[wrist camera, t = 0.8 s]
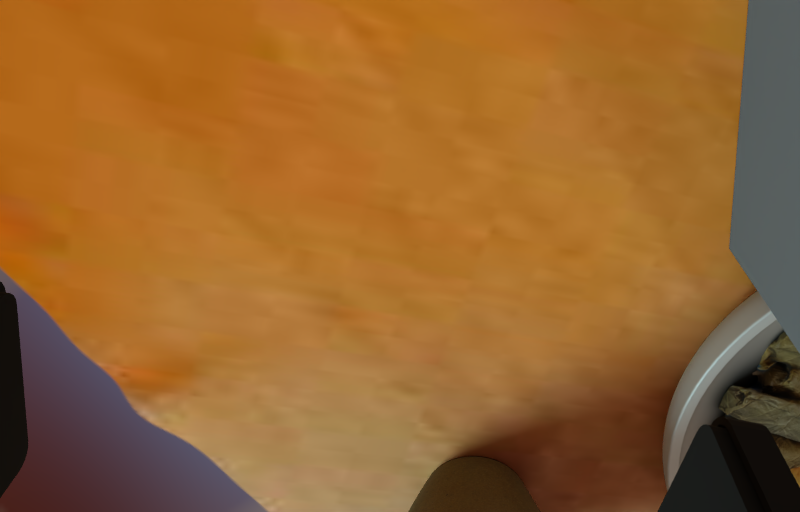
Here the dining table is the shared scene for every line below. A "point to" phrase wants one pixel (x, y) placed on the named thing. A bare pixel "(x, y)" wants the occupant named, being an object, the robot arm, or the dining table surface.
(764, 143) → the grey display stand
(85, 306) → the dining table surface
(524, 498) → the plant pot
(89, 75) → the dining table surface
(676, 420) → the bowl
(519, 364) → the dining table surface
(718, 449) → the robot arm
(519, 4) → the dining table surface
